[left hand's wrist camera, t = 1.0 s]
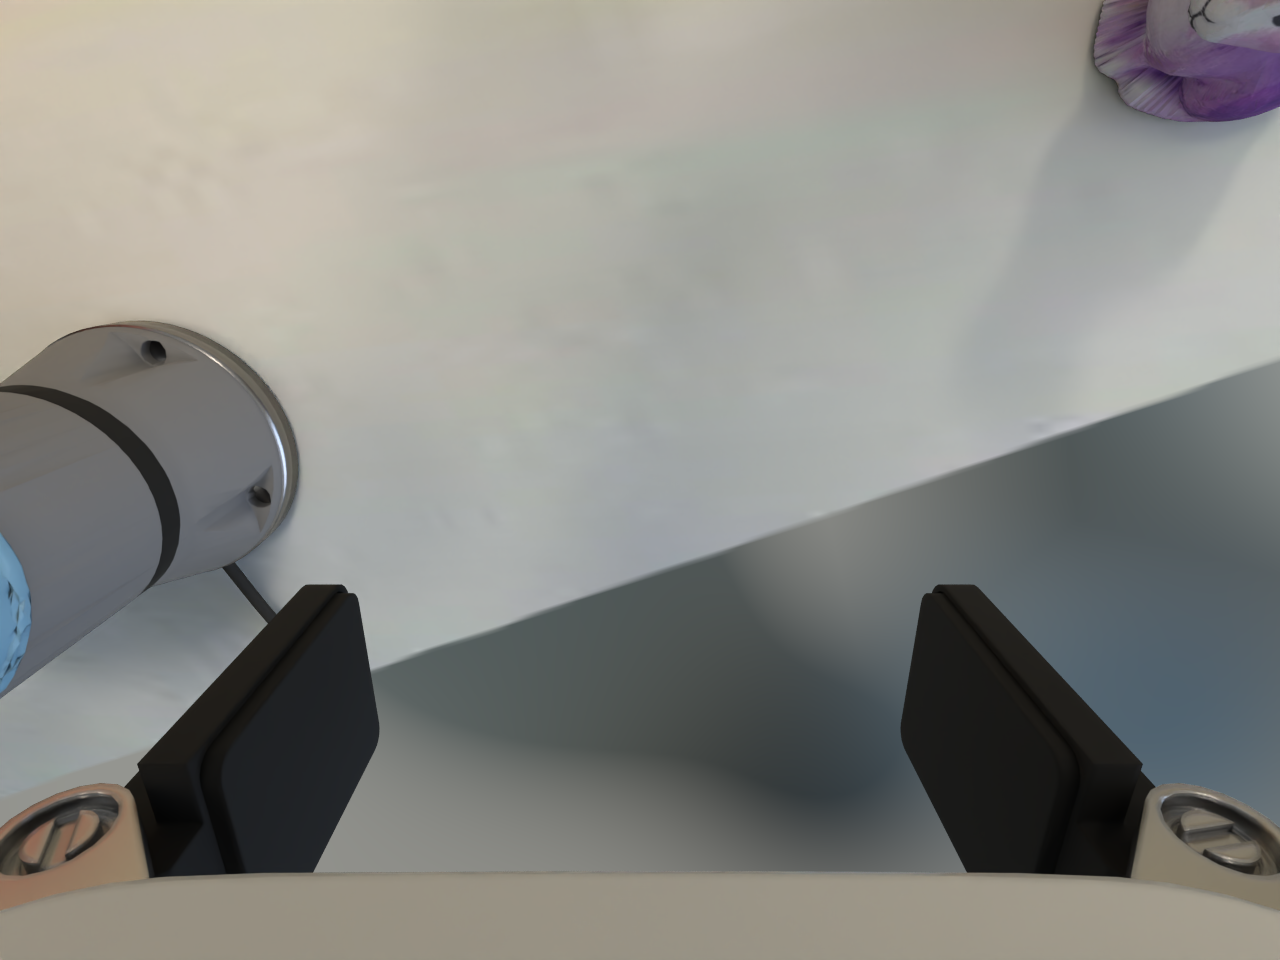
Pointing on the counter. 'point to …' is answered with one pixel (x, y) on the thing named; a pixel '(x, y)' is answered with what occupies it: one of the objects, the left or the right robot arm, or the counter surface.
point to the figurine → (1192, 56)
